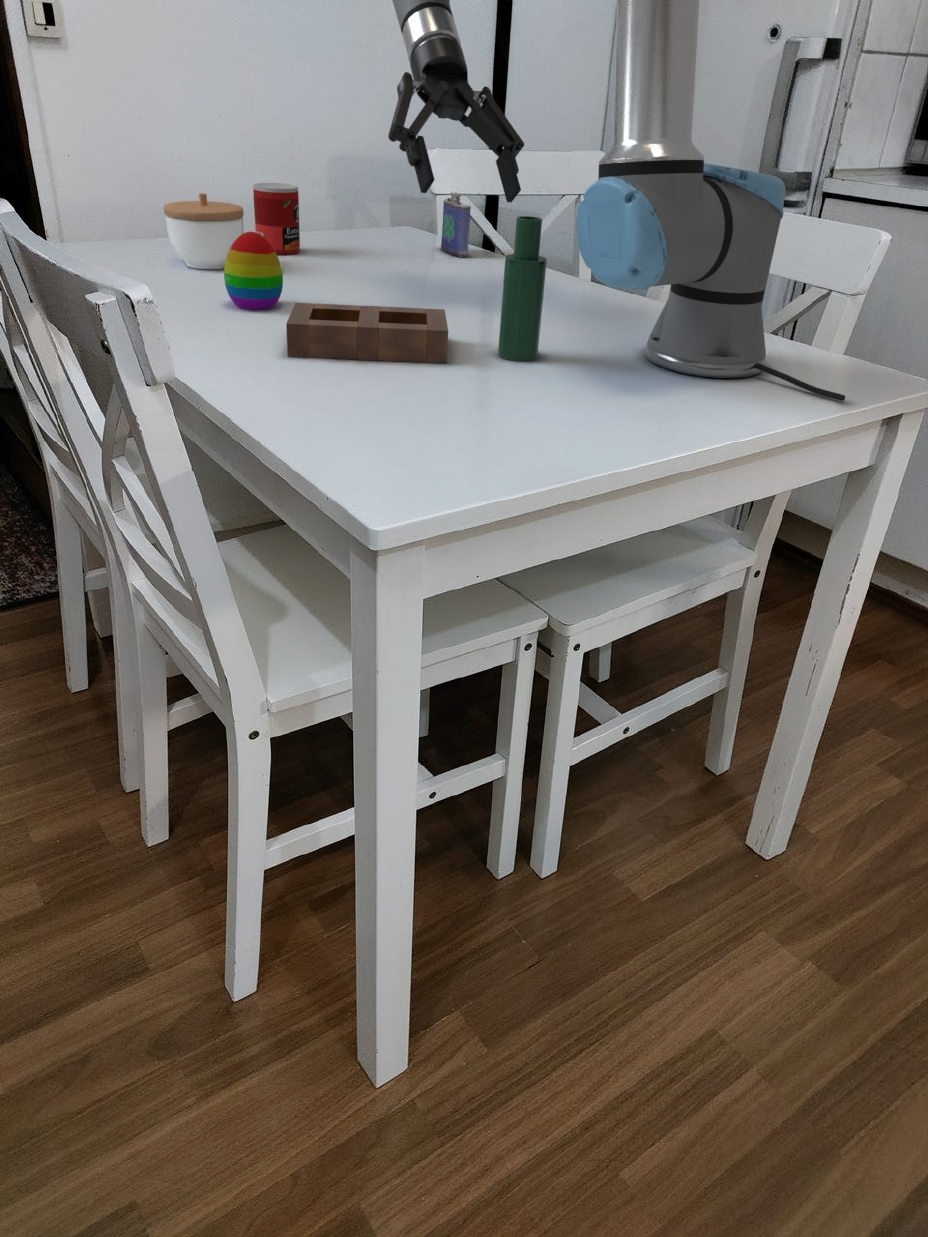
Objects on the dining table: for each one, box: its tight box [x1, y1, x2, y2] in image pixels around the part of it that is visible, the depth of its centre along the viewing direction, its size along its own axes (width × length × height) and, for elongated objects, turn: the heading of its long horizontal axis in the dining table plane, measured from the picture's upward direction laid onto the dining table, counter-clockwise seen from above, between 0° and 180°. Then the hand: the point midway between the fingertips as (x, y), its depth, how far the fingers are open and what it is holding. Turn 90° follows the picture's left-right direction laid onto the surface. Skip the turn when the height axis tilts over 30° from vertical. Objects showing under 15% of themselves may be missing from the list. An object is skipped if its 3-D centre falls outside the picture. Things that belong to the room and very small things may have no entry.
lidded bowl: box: [163, 192, 245, 270], centre depth 154 cm, size 13×13×11 cm
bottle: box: [497, 215, 548, 362], centre depth 116 cm, size 5×5×16 cm
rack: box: [285, 302, 449, 364], centre depth 118 cm, size 20×11×4 cm, turn 93°
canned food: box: [252, 182, 301, 256], centre depth 168 cm, size 8×8×11 cm
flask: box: [440, 191, 471, 258], centre depth 177 cm, size 9×3×11 cm, turn 25°
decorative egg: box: [223, 231, 284, 311], centre depth 132 cm, size 8×8×10 cm
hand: (472, 191), depth 126 cm, fingers open, 13 cm apart
